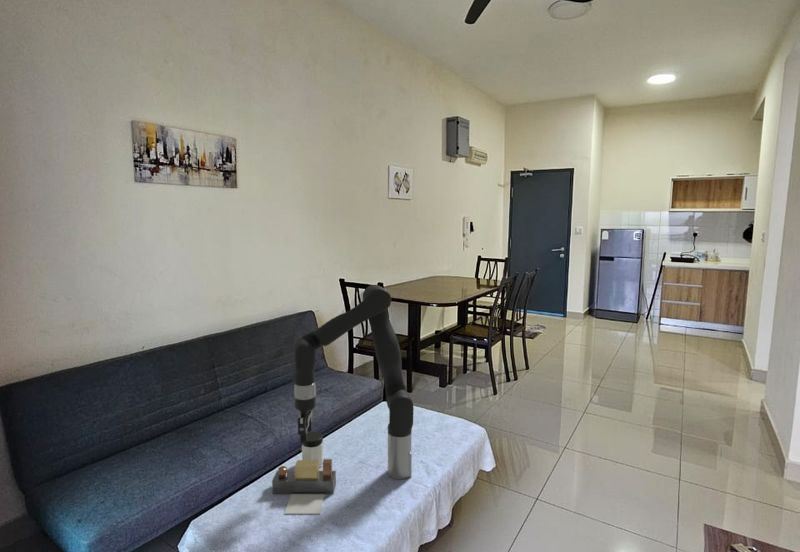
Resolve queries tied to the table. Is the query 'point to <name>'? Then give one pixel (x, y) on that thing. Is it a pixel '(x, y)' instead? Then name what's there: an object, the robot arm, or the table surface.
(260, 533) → the table surface
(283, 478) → the body
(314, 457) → the jar
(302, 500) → the felt mat
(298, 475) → the lever cap
